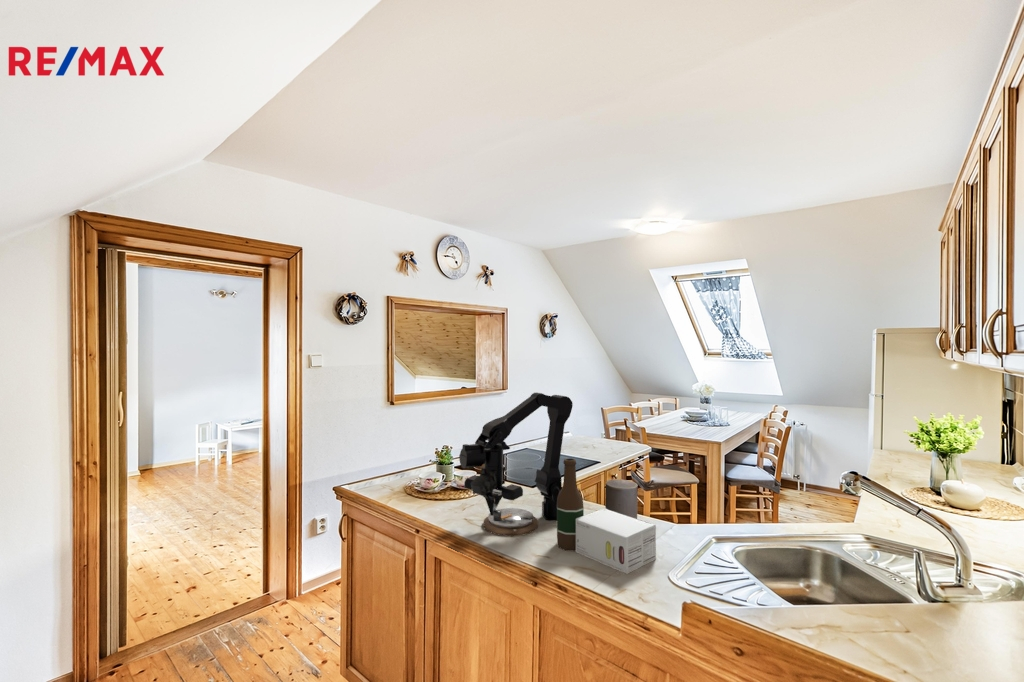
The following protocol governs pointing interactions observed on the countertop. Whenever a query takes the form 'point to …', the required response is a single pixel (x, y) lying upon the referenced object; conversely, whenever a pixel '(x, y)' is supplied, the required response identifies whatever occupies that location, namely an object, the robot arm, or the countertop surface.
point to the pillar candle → (621, 497)
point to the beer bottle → (568, 508)
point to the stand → (511, 532)
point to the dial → (510, 518)
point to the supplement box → (616, 540)
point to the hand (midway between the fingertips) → (492, 514)
